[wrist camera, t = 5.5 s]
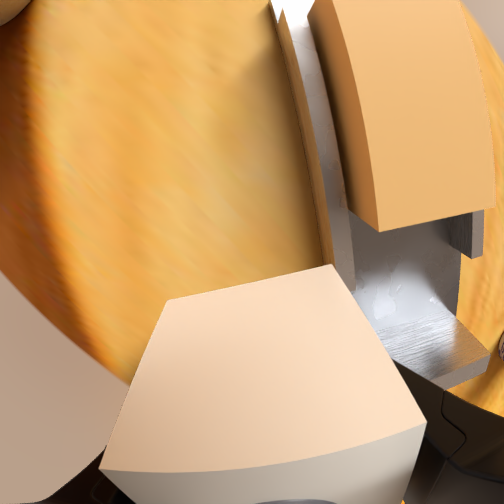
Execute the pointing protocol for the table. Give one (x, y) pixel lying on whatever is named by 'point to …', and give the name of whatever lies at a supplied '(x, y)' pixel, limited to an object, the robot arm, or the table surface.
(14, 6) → the plant pot
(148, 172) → the table surface
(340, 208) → the press frame
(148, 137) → the table surface
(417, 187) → the block
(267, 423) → the block
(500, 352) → the energy drink
